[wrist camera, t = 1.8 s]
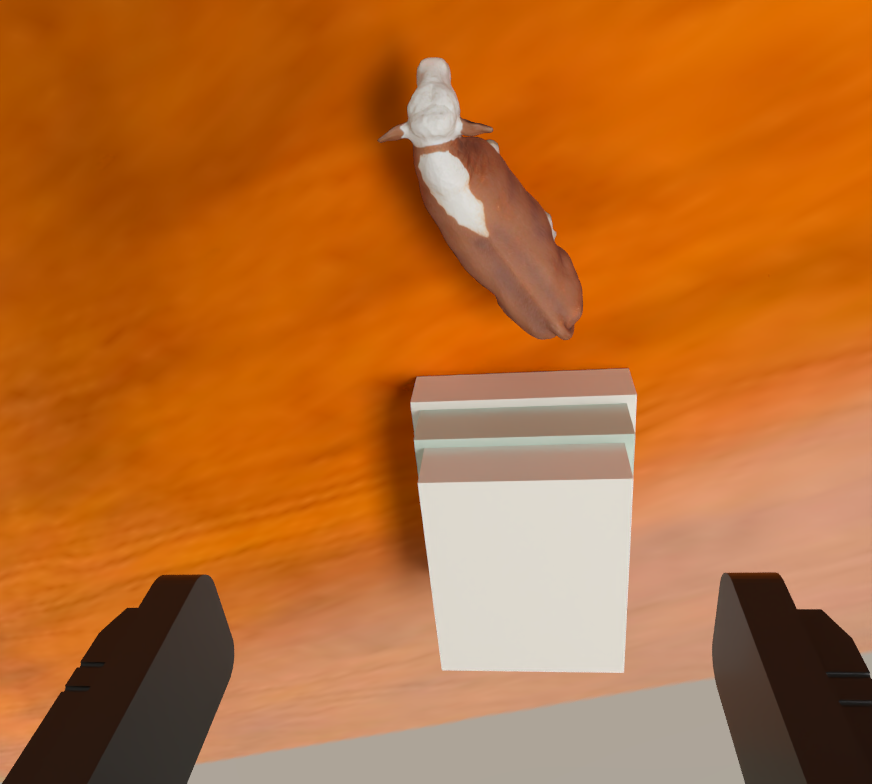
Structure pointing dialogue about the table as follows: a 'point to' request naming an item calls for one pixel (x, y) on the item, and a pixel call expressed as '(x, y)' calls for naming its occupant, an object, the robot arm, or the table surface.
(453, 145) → the bull figurine
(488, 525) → the white stepped block
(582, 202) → the table surface
